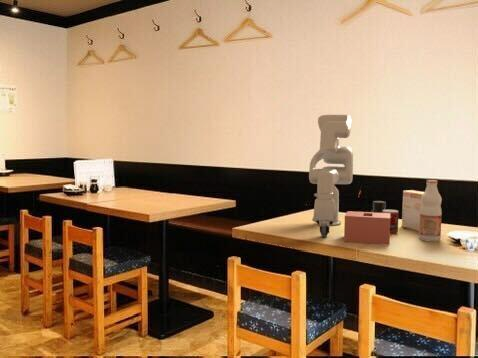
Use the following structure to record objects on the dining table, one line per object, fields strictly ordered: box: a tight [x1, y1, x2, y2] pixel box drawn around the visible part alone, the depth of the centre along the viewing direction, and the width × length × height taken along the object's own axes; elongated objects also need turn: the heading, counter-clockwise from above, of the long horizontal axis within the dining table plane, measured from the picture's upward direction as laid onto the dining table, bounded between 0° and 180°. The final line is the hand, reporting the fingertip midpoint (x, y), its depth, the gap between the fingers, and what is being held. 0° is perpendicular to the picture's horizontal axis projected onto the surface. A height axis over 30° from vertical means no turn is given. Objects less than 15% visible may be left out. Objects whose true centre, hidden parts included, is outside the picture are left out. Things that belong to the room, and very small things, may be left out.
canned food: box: [383, 209, 399, 235], centre depth 244 cm, size 8×8×11 cm
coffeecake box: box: [401, 189, 425, 232], centre depth 253 cm, size 15×7×20 cm, turn 18°
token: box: [321, 223, 328, 239], centre depth 233 cm, size 6×2×6 cm, turn 163°
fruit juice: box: [418, 179, 443, 242], centre depth 227 cm, size 9×9×28 cm
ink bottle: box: [370, 200, 387, 213], centre depth 269 cm, size 10×9×12 cm
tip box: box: [343, 210, 391, 246], centre depth 226 cm, size 14×20×12 cm
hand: (324, 234), depth 233 cm, fingers closed on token, 1 cm apart
